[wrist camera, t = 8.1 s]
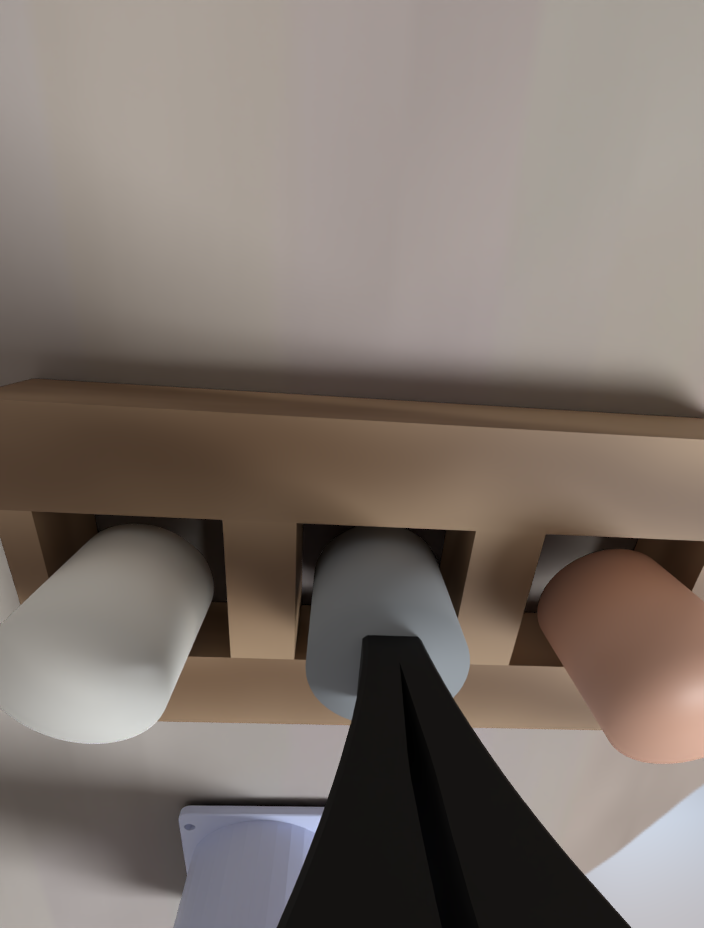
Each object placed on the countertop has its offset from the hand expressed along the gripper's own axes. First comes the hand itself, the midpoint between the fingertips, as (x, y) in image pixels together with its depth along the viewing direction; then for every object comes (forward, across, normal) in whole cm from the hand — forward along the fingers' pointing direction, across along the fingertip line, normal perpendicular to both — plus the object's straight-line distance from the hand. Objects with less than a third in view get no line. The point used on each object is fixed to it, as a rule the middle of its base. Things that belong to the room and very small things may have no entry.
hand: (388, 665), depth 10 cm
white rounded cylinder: (+3, +7, 0) cm, 8 cm away
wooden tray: (+5, 0, 0) cm, 5 cm away
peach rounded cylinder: (+3, -7, 0) cm, 7 cm away
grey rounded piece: (+3, 0, 0) cm, 3 cm away
